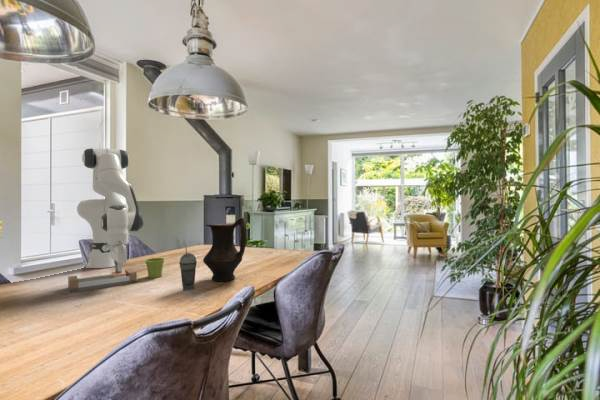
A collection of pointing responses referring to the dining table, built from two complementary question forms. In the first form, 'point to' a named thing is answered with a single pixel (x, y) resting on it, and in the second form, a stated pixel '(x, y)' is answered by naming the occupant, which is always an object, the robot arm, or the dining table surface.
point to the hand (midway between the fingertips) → (118, 269)
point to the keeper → (117, 272)
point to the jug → (225, 250)
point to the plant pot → (154, 267)
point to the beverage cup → (188, 270)
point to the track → (100, 281)
